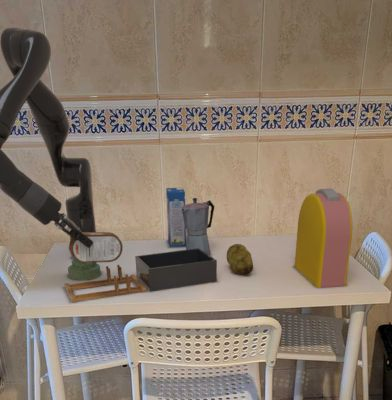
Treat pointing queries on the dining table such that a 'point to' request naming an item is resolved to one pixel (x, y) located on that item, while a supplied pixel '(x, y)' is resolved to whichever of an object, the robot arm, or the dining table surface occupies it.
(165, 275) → the dark grey open box
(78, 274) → the decorative artifact
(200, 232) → the moka pot
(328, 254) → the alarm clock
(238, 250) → the olive green oval lump
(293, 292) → the dining table surface
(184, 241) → the milk carton
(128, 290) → the dish rack
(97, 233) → the tin
